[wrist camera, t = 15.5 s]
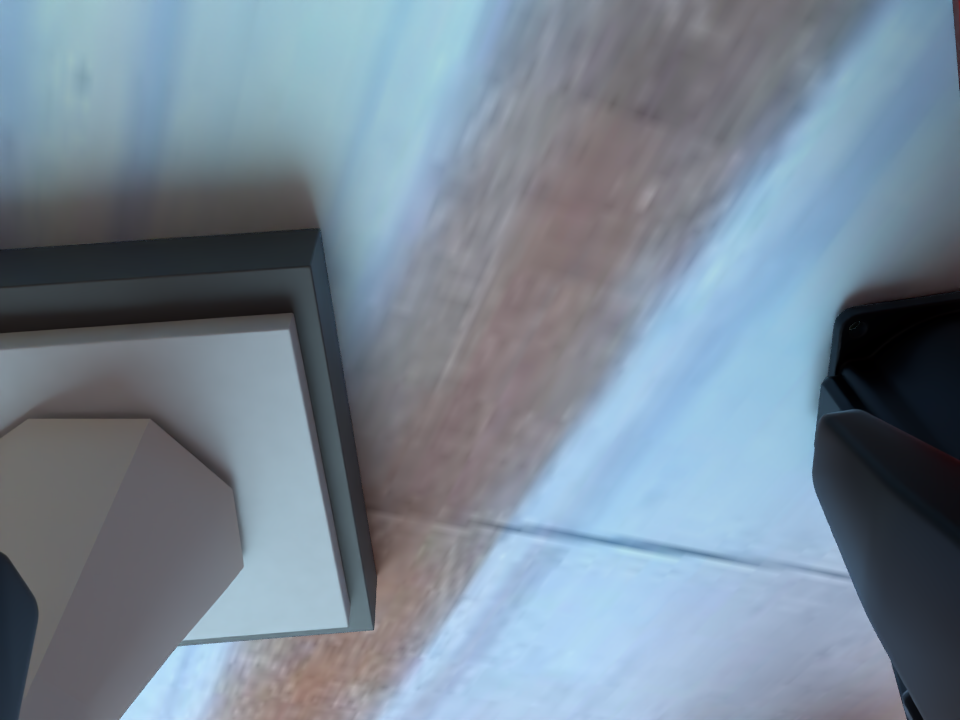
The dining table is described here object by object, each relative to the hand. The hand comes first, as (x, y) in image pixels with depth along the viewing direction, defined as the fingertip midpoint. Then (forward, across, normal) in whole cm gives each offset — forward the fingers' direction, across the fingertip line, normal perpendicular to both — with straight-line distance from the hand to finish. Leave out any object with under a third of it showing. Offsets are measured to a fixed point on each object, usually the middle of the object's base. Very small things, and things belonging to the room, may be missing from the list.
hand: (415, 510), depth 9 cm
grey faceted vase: (+10, +10, +8) cm, 16 cm away
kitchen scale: (+13, +10, +8) cm, 18 cm away
